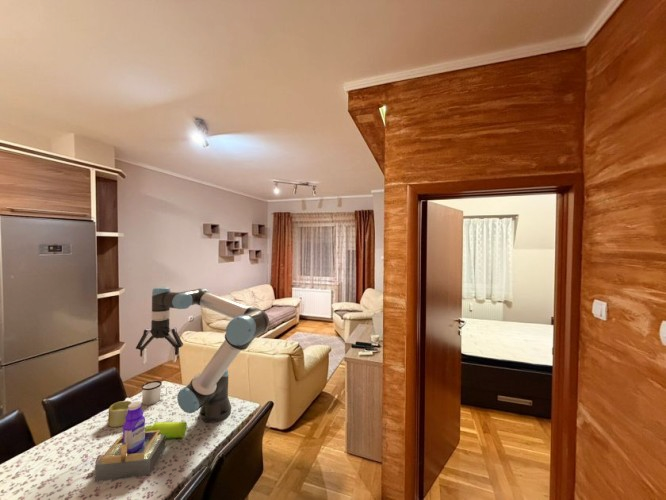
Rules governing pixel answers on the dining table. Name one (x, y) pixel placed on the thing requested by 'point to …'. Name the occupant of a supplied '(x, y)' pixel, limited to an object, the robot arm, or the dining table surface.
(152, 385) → the mug
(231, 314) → the robot arm
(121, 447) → the grey and tan box
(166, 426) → the soap dispenser
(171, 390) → the dining table surface
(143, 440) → the bottle
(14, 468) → the dining table surface
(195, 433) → the dining table surface
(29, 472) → the dining table surface
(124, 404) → the mug
